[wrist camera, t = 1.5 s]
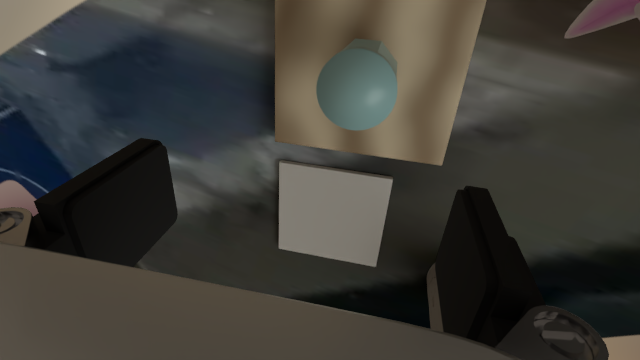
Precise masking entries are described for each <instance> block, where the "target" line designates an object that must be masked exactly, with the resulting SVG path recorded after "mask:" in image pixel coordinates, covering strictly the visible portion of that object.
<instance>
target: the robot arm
mask: <svg viewBox="0 0 640 360" xmlns="http://www.w3.org/2000/svg"><path fill="white" fill-rule="evenodd" d="M34 203H35V205H36V208H37V210H38V212H39V213H38V214H37V215H35V216H34V217H33V216H32V214H31V212H30V211H28V210H27V209H24V208H15V207H11V208H3V209H0V360H608V356H609V354H608V350H607V347H606V344H605V343H604V341H603V340H602V338H601V337H600V335H599V334H598V333H597V332H596V331H595V330H594V329H593V328H592V327H591V326H590V325H589V324H587V323H586V322H585V321H583V320H582V319H580V318H579V317H577V316H575V315H574V314H572V313H570V312H568V311H566V310H563V309H560V308H557V307H552V306H546V304H545V302H544V300H543V298H542V296H541V294H540V291H539V289H538V287H537V285H536V283H535V281H534V278H533V276H532V274H531V272H530V270H529V268H528V266H527V263H526V261H525V259H524V257H523V255H522V253H521V250H520V248H519V246H518V244H517V242H516V240H515V239H514V238H513V237H510V236H508V234H507V232H506V229H505V227H504V225H503V223H502V220H501V218H500V216H499V214H498V211H497V209H496V207H495V205H494V202H493V200H492V198H491V195H490V193H489V191H488V189H485V188H478V187H472V186H466V187H465V188H464V190H458V191H457V192H456V195H455V199H454V202H453V205H452V208H451V212H450V215H449V218H448V221H447V225H446V228H445V231H444V234H443V238H442V241H441V244H440V248H439V251H438V254H437V257H436V262H435V272H436V280H437V287H438V295H439V302H440V310H441V317H442V325H443V332H441V331H437V330H432V329H428V328H424V327H420V326H416V325H412V324H407V323H403V322H399V321H394V320H389V319H384V318H379V317H375V316H370V315H365V314H360V313H355V312H351V311H346V310H341V309H336V308H331V307H327V306H322V305H317V304H312V303H307V302H302V301H298V300H293V299H288V298H283V297H278V296H273V295H268V294H263V293H258V292H253V291H248V290H243V289H239V288H234V287H229V286H224V285H219V284H214V283H209V282H204V281H199V280H194V279H189V278H184V277H179V276H174V275H169V274H164V273H159V272H154V271H149V270H144V269H139V268H134V266H135V264H136V263H137V262H138V261H139V260H140V259H141V258H142V257H143V256H144V255H145V254H146V253H147V252H148V251H149V250H150V248H151V247H152V246H153V245H154V244H155V243H156V242H157V241H158V240H159V239H160V238H161V237H162V236H163V235H164V234H165V232H166V231H167V230H168V229H169V228H170V227H171V226H172V225H173V224H174V223H175V221H176V219H177V207H176V201H175V195H174V189H173V183H172V178H171V172H170V166H169V160H168V154H167V150H166V147H165V146H163V145H162V143H161V142H160V141H158V140H151V139H144V138H140V139H138V140H136V141H135V142H133V143H131V144H130V145H128V146H126V147H125V148H123V149H121V150H120V151H118V152H116V153H114V154H113V155H111V156H109V157H108V158H106V159H104V160H103V161H101V162H99V163H98V164H96V165H94V166H93V167H91V168H89V169H88V170H86V171H84V172H83V173H81V174H79V175H78V176H76V177H74V178H72V179H71V180H69V181H67V182H66V183H64V184H62V185H61V186H59V187H57V188H56V189H54V190H52V191H51V192H49V193H47V194H46V195H44V196H42V197H41V198H39V199H37V200H36V201H34Z"/></svg>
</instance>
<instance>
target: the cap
mask: <svg viewBox="0 0 640 360" xmlns="http://www.w3.org/2000/svg"><path fill="white" fill-rule="evenodd" d="M397 88H398V87H397V61H396V60H395V59H394V57H393V56H392V54H391V53H390V52H389V50H388V49H387V48H386V46H385V45H384V43H383V42H382V41H376V40H366V39H356V38H355V39H354V40H353V41H352V42H351V43H350V44H349V45H347V46H346V47H345V48H344V49H343V50H342V51H340V52H339V53H337V54H336V55H334V56H333V57H332V58H331V59H330V60H329V61H328V62H327V63H326V64H325V66H324V67H323V68H322V70H321V72H320V74H319V77H318V80H317V86H316V94H317V99H318V103H319V106H320V108H321V110H322V111H323V113H324V114H325V116H326V117H327V118H328V119H329V120H330V121H332V122H333V123H334V124H336V125H337V126H339V127H342V128H344V129H348V130H356V131H357V130H366V129H369V128H372V127H374V126H376V125H378V124H380V123H381V122H382V121H384V120H385V119H386V118H387V117H388V115H389V114H390V113H391V111H392V109H393V107H394V105H395V102H396V98H397Z"/></svg>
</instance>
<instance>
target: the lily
mask: <svg viewBox="0 0 640 360" xmlns="http://www.w3.org/2000/svg"><path fill="white" fill-rule="evenodd" d="M634 18H638V19H639V20H640V0H593V1H592V2H591V3H590V4H589V5H588V6H587V7H586V8H585V9H584V10H583V11H582V13H581V14H580V15H579V16H578V17H577V18H576V20H575V21H574V22H573V23H572V24H571V26H570V27H569V29H568V30H567V32H566V33H565V38H573V37H577V36H580V35H584V34H587V33H590V32H594V31H597V30H600V29H603V28H606V27H609V26H613V25H616V24H619V23H622V22H625V21H628V20H631V19H634Z"/></svg>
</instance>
